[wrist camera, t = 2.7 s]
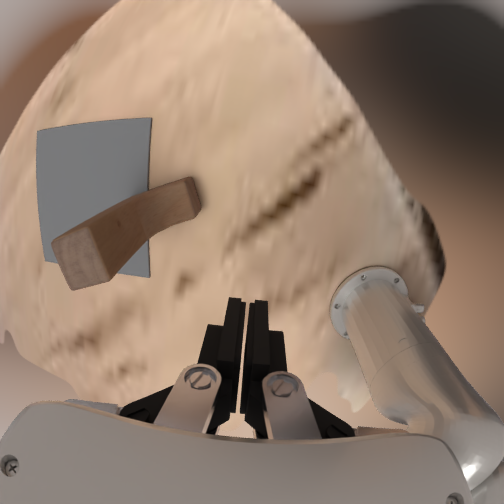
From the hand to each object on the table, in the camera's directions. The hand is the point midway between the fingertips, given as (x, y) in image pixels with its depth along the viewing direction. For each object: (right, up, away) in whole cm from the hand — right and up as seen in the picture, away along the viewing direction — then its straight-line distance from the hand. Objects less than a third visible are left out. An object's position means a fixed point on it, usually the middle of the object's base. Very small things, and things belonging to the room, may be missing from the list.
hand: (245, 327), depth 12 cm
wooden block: (-11, +10, +23) cm, 27 cm away
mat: (-24, +11, +23) cm, 35 cm away
